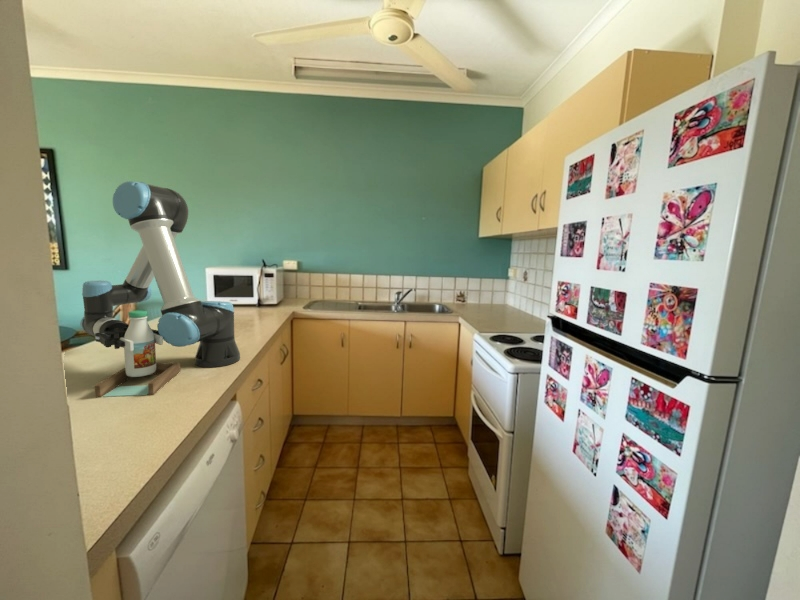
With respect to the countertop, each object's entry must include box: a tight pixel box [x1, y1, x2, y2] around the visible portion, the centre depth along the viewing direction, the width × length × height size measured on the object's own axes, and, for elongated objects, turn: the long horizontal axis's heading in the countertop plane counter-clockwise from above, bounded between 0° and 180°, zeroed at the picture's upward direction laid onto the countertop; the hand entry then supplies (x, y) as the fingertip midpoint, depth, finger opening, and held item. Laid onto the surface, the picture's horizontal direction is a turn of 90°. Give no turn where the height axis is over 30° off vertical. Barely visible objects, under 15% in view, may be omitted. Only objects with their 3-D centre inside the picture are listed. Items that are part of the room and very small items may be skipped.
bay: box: [94, 361, 181, 398], centre depth 105 cm, size 14×18×4 cm
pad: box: [102, 384, 149, 398], centre depth 100 cm, size 11×7×1 cm, turn 102°
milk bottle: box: [123, 309, 157, 378], centre depth 105 cm, size 8×8×20 cm
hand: (147, 343), depth 103 cm, fingers closed on milk bottle, 7 cm apart
